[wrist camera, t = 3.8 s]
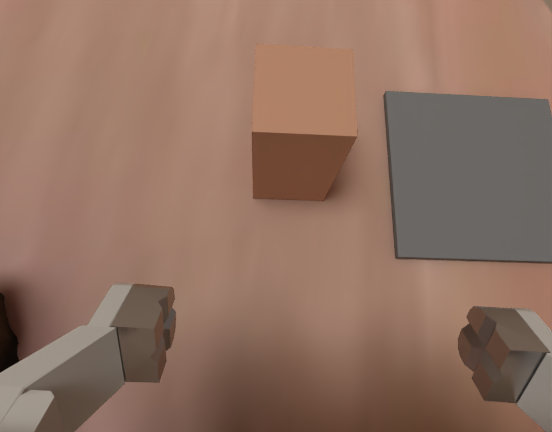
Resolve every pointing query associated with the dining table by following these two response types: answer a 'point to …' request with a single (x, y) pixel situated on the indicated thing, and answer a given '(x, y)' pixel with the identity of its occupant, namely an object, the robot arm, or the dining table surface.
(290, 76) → the tan rectangular pillar
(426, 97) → the grey mat
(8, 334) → the dark brown rock
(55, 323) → the dining table surface
